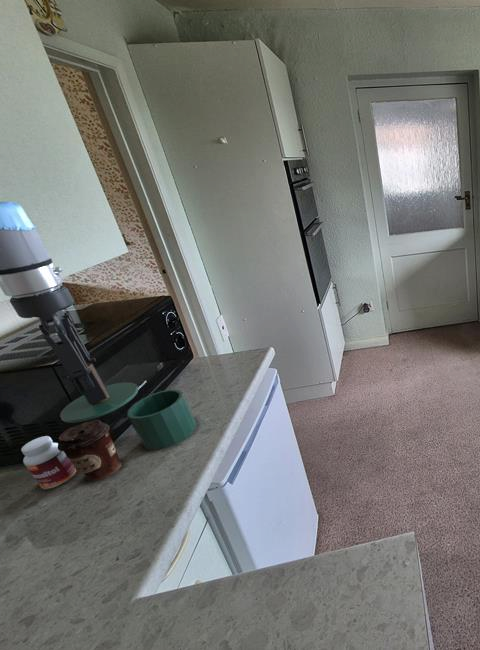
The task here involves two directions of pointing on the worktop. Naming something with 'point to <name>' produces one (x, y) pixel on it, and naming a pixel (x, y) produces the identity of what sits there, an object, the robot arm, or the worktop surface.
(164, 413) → the tin
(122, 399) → the tin lid
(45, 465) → the pill bottle
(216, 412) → the worktop surface
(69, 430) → the brown jar
